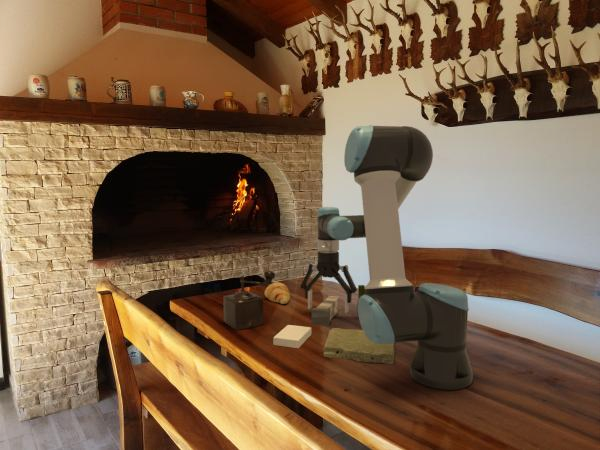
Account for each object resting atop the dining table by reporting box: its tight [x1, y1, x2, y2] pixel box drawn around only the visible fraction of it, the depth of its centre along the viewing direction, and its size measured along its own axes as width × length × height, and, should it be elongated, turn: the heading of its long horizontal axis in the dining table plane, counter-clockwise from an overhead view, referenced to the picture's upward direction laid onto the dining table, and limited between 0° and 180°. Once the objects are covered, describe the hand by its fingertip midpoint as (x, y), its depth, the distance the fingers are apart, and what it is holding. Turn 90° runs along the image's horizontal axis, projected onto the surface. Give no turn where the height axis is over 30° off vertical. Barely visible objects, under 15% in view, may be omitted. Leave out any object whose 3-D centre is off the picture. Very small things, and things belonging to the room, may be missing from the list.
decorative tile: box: [323, 327, 396, 365], centre depth 133 cm, size 19×20×4 cm
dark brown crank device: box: [222, 270, 276, 331], centre depth 155 cm, size 16×11×18 cm
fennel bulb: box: [356, 284, 367, 318], centre depth 159 cm, size 6×5×12 cm
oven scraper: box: [311, 295, 340, 327], centre depth 162 cm, size 18×6×5 cm, turn 160°
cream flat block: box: [272, 324, 312, 349], centre depth 140 cm, size 3×8×12 cm
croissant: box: [264, 281, 291, 305], centre depth 184 cm, size 21×10×8 cm, turn 21°
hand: (328, 309), depth 162 cm, fingers open, 13 cm apart
